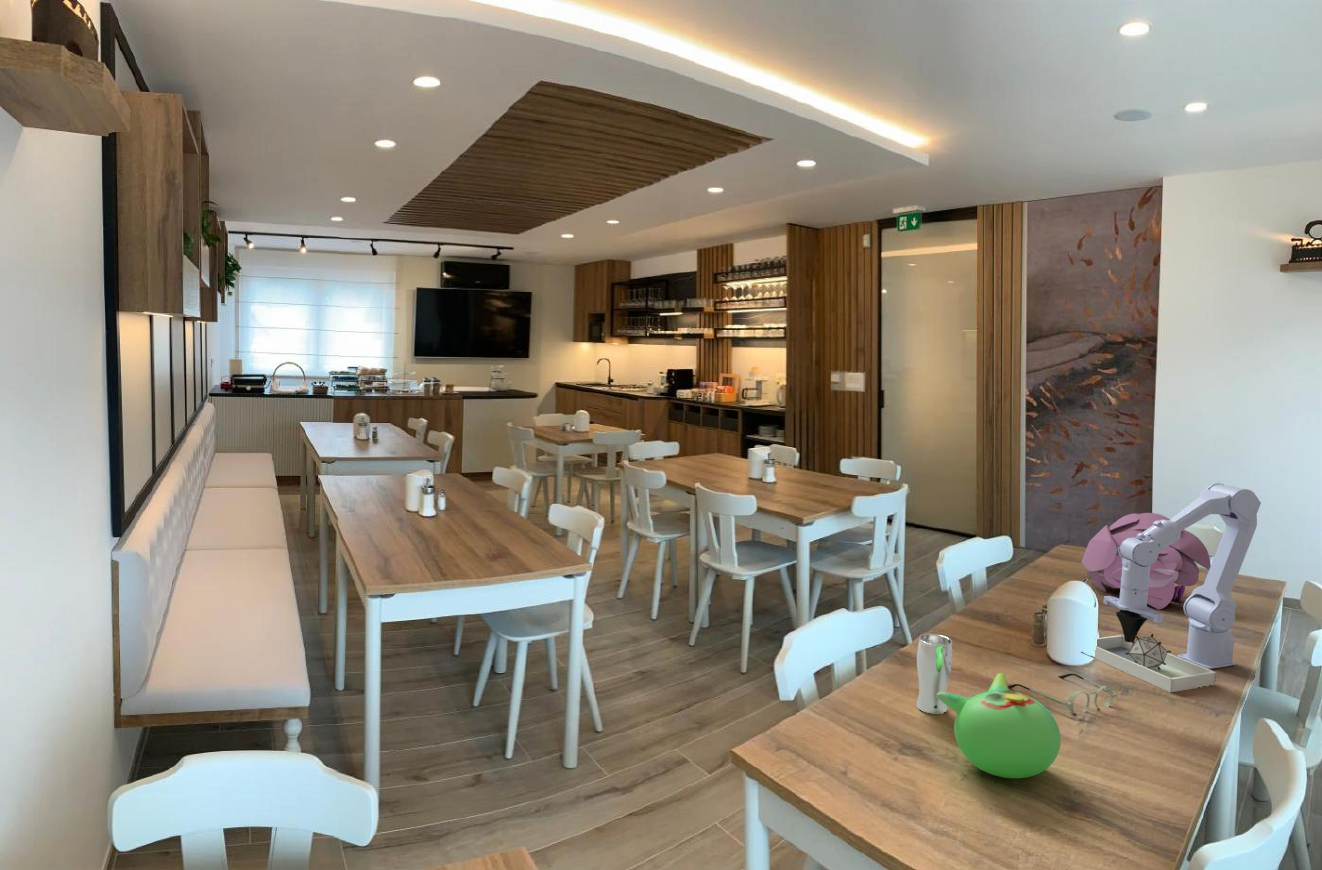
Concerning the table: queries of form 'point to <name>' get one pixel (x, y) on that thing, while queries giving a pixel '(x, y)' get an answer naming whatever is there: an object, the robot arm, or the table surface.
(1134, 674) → the shallow open box
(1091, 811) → the table surface
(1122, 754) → the table surface
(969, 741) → the green squishy toy
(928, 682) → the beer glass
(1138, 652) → the game die
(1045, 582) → the table surface
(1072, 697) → the eyeglasses
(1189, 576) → the pink rounded layered piece
